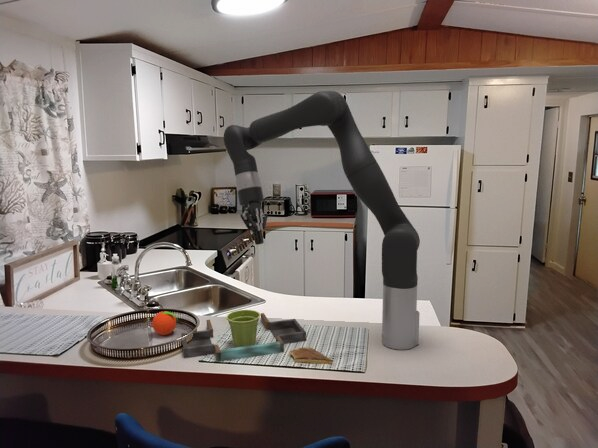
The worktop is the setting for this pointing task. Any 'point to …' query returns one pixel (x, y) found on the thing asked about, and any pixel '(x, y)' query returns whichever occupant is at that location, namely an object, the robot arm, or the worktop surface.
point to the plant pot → (243, 327)
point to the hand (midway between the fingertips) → (259, 244)
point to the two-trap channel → (280, 329)
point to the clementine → (164, 322)
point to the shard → (309, 356)
